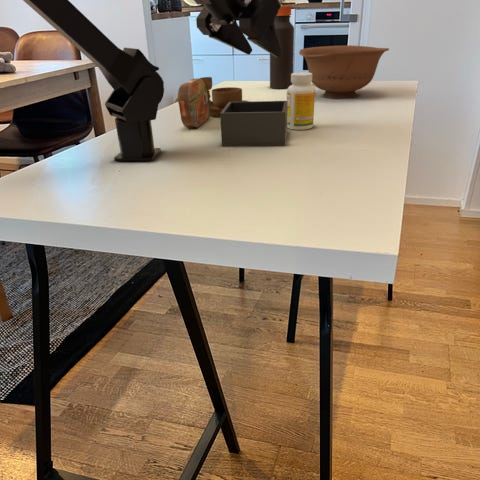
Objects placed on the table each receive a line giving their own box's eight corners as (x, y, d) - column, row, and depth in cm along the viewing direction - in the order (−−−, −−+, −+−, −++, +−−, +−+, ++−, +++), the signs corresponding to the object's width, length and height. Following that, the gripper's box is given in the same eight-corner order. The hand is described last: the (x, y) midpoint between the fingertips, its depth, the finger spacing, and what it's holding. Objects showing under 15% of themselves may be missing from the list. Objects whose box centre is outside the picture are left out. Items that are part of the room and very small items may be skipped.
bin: (285, 145, 84) (285, 112, 81) (221, 146, 85) (220, 113, 82) (287, 131, 93) (287, 100, 90) (230, 132, 94) (228, 101, 91)
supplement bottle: (280, 128, 96) (281, 74, 90) (297, 123, 99) (298, 71, 93) (302, 131, 92) (304, 76, 87) (318, 126, 96) (321, 72, 90)
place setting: (184, 117, 108) (181, 89, 105) (202, 102, 124) (200, 77, 121) (261, 117, 105) (261, 87, 102) (269, 101, 122) (269, 75, 119)
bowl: (304, 104, 116) (305, 53, 110) (292, 91, 134) (293, 46, 128) (394, 100, 116) (401, 49, 110) (370, 87, 134) (375, 42, 128)
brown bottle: (282, 85, 145) (282, 6, 134) (297, 86, 140) (299, 5, 129) (265, 87, 141) (264, 6, 130) (280, 89, 137) (281, 6, 126)
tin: (193, 131, 96) (189, 85, 91) (178, 131, 96) (173, 85, 92) (212, 116, 108) (209, 75, 103) (198, 116, 109) (195, 75, 104)
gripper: (271, -77, 67) (326, 14, 78) (207, -61, 80) (261, 15, 91) (225, -8, 68) (286, 72, 79) (169, -4, 81) (227, 64, 92)
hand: (264, 53), depth 85 cm, fingers open, 9 cm apart
